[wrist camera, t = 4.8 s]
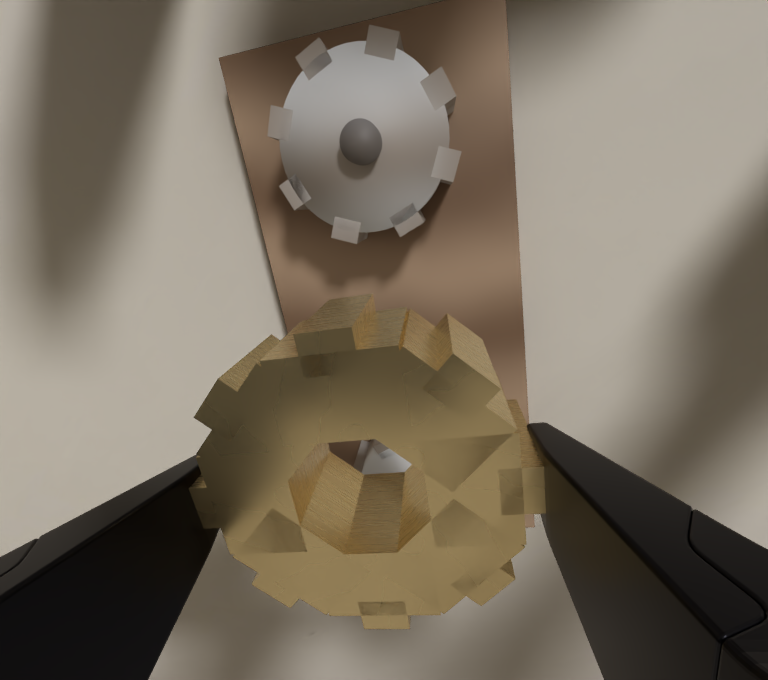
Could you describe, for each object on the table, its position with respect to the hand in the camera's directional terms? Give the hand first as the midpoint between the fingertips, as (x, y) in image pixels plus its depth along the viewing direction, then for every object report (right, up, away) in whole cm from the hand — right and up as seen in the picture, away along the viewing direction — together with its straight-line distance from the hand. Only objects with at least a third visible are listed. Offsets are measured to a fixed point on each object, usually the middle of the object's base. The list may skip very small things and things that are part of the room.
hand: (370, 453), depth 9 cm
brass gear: (0, 0, +1) cm, 1 cm away
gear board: (+1, +4, +11) cm, 11 cm away
